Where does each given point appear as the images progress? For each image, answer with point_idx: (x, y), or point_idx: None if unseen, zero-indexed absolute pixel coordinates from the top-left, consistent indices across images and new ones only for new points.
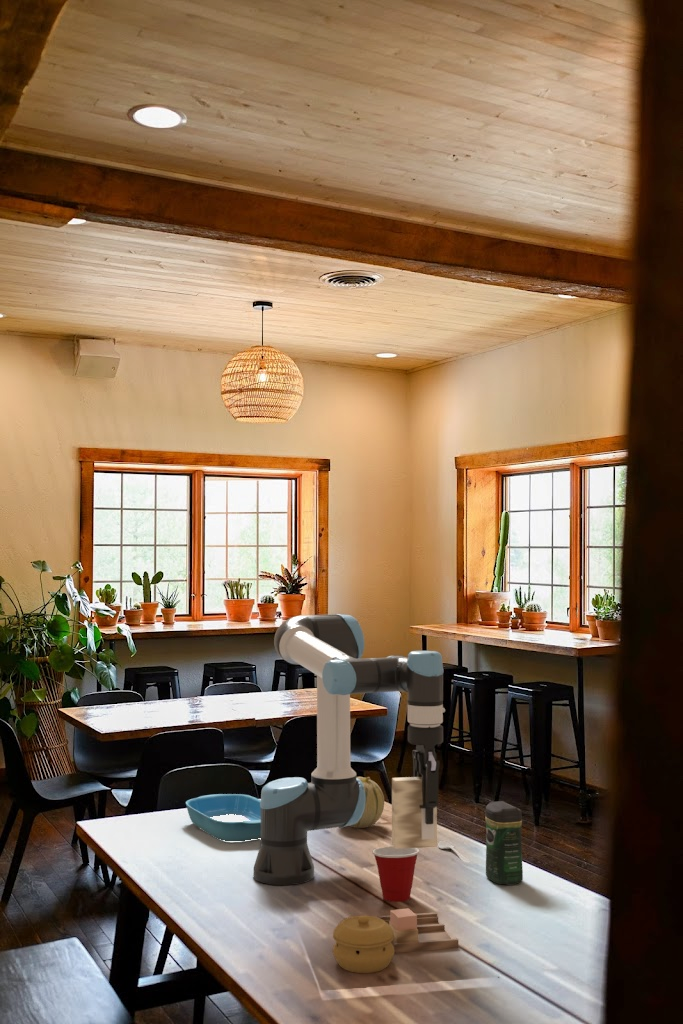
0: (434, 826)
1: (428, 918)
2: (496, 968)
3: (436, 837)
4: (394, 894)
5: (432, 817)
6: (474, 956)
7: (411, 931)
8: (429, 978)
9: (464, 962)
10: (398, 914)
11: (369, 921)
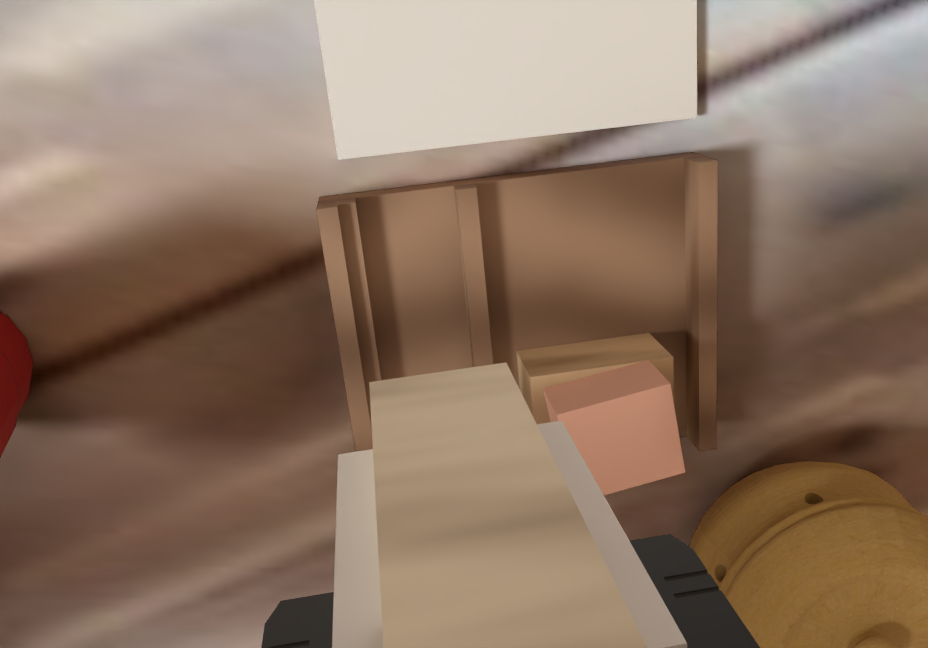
0: (599, 488)
1: (362, 253)
2: (878, 8)
3: (525, 401)
4: (19, 402)
5: (714, 593)
6: (731, 82)
7: (672, 385)
8: (899, 312)
9: (785, 143)
10: (639, 468)
11: (831, 621)
